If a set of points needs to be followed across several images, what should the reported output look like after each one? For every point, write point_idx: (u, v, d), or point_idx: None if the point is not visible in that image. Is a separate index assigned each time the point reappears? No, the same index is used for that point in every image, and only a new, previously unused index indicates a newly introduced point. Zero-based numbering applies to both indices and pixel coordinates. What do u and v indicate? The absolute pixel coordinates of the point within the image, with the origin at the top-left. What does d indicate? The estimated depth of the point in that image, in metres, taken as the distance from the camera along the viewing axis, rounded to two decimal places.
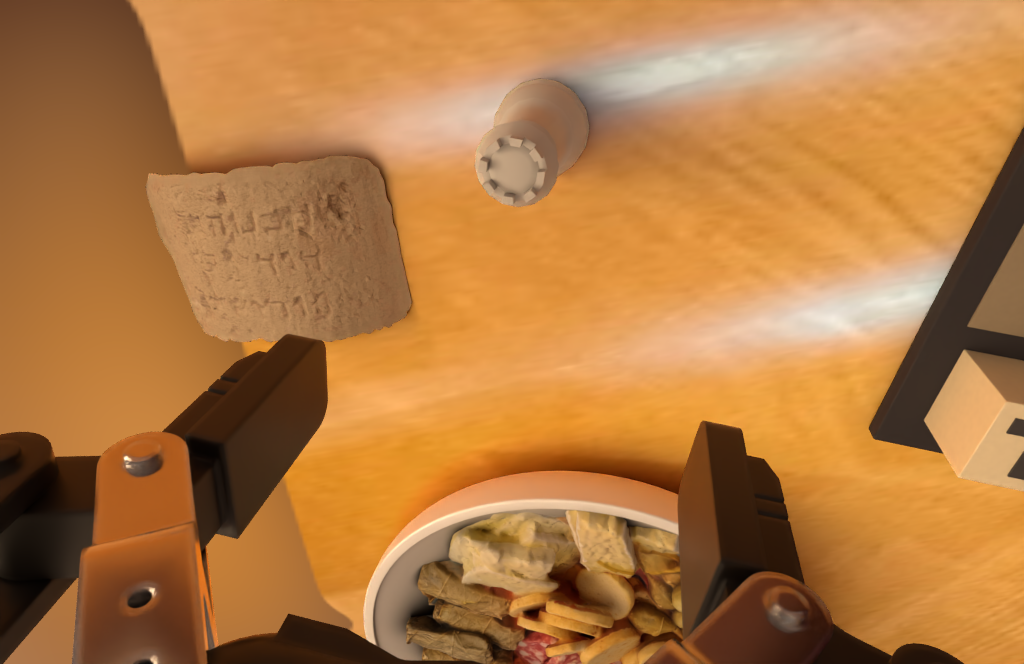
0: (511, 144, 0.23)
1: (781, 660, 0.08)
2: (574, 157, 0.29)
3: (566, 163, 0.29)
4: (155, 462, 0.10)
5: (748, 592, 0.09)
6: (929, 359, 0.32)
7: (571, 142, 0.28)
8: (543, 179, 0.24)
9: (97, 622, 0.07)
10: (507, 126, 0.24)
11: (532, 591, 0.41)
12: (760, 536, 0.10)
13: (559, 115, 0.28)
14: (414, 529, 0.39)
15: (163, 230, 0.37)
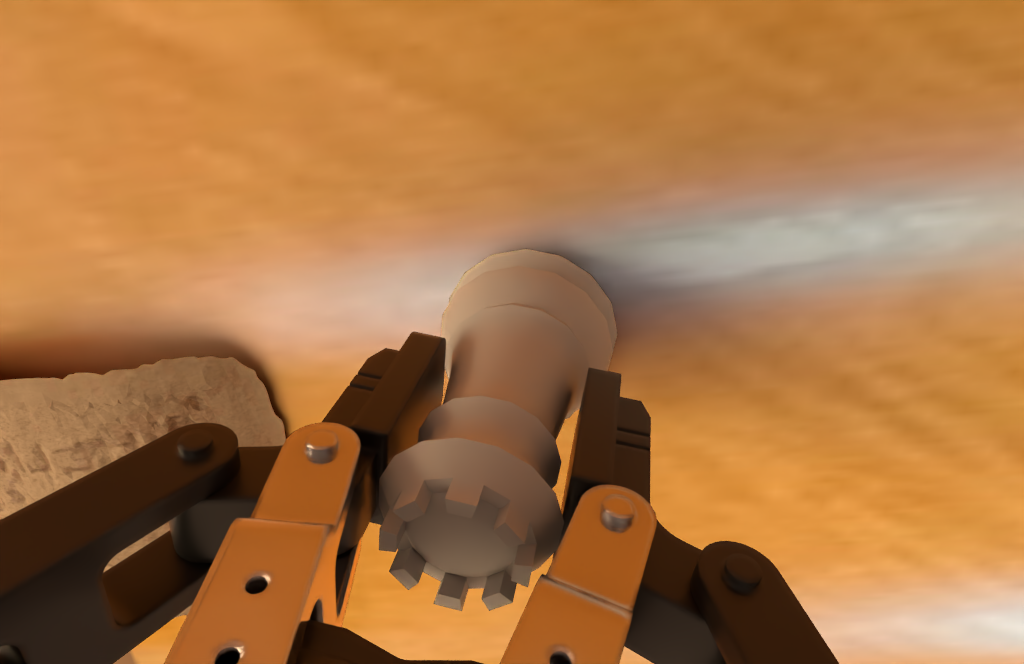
0: (450, 511, 0.10)
1: (627, 557, 0.09)
2: None
3: None
4: (329, 453, 0.10)
5: (586, 499, 0.10)
6: None
7: None
8: (528, 575, 0.10)
9: (216, 595, 0.07)
10: (444, 450, 0.10)
11: None
12: (613, 458, 0.11)
13: (562, 339, 0.14)
14: None
15: None
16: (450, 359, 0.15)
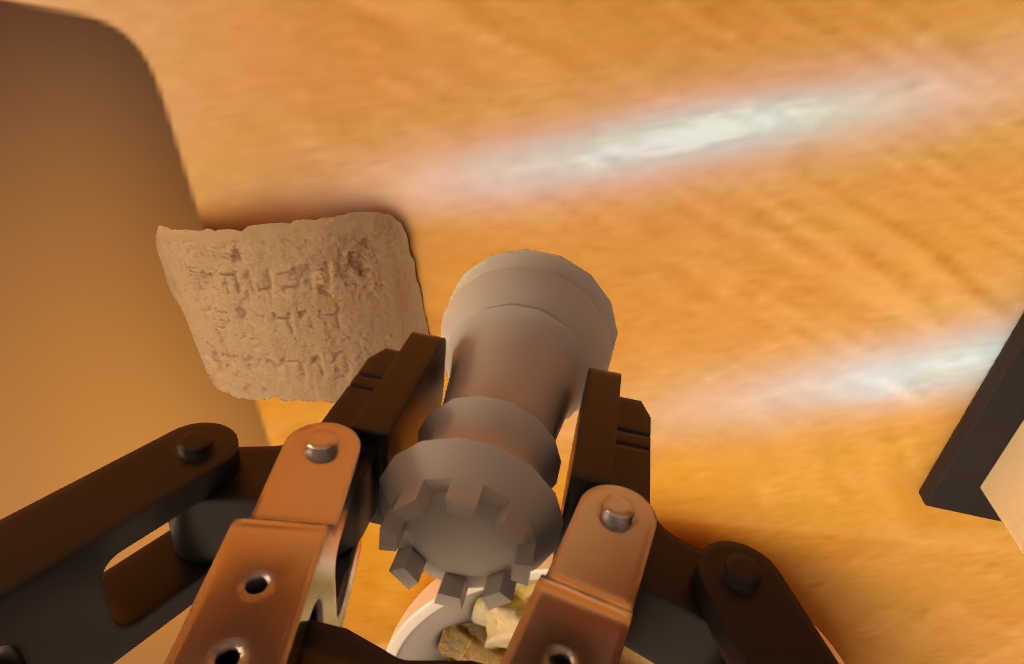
0: (450, 510, 0.10)
1: (627, 557, 0.09)
2: None
3: None
4: (329, 453, 0.10)
5: (585, 500, 0.10)
6: (988, 425, 0.30)
7: (585, 381, 0.15)
8: (528, 575, 0.10)
9: (216, 595, 0.07)
10: (444, 450, 0.10)
11: None
12: (612, 459, 0.11)
13: (563, 339, 0.14)
14: (436, 594, 0.37)
15: (173, 283, 0.36)
16: (451, 359, 0.15)
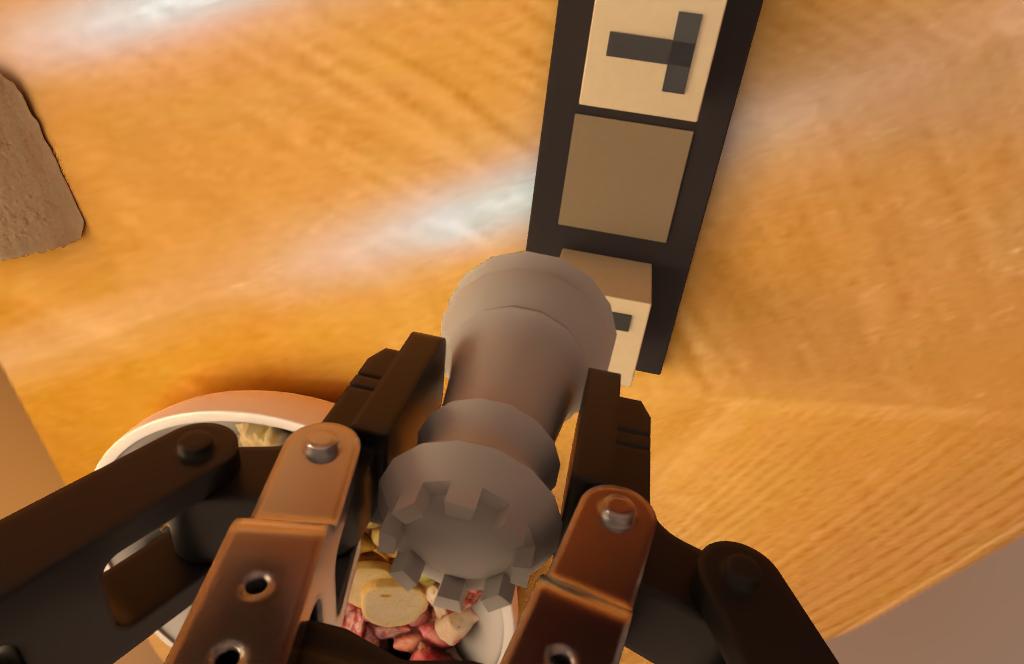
0: (449, 513, 0.10)
1: (627, 557, 0.09)
2: None
3: None
4: (329, 454, 0.10)
5: (586, 500, 0.10)
6: None
7: None
8: (527, 578, 0.10)
9: (216, 595, 0.07)
10: (443, 452, 0.10)
11: None
12: (612, 459, 0.11)
13: (562, 341, 0.14)
14: (108, 449, 0.40)
15: None
16: (450, 361, 0.15)
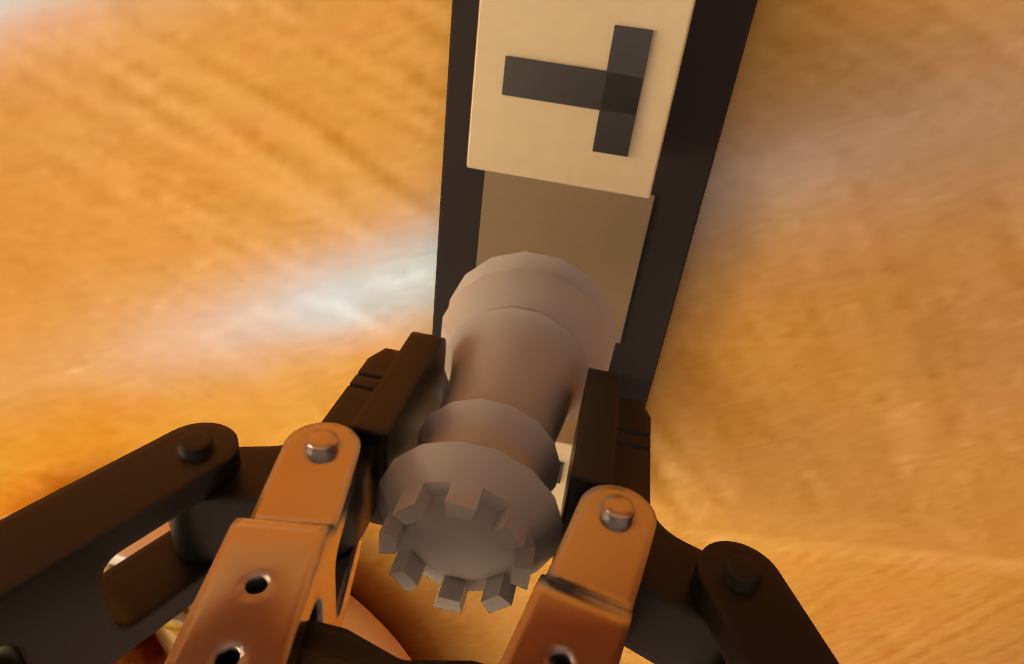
0: (450, 514, 0.10)
1: (627, 557, 0.09)
2: None
3: None
4: (329, 453, 0.10)
5: (586, 500, 0.10)
6: None
7: None
8: (527, 578, 0.10)
9: (216, 595, 0.07)
10: (443, 453, 0.10)
11: None
12: (613, 459, 0.11)
13: (562, 342, 0.14)
14: None
15: None
16: (450, 361, 0.15)
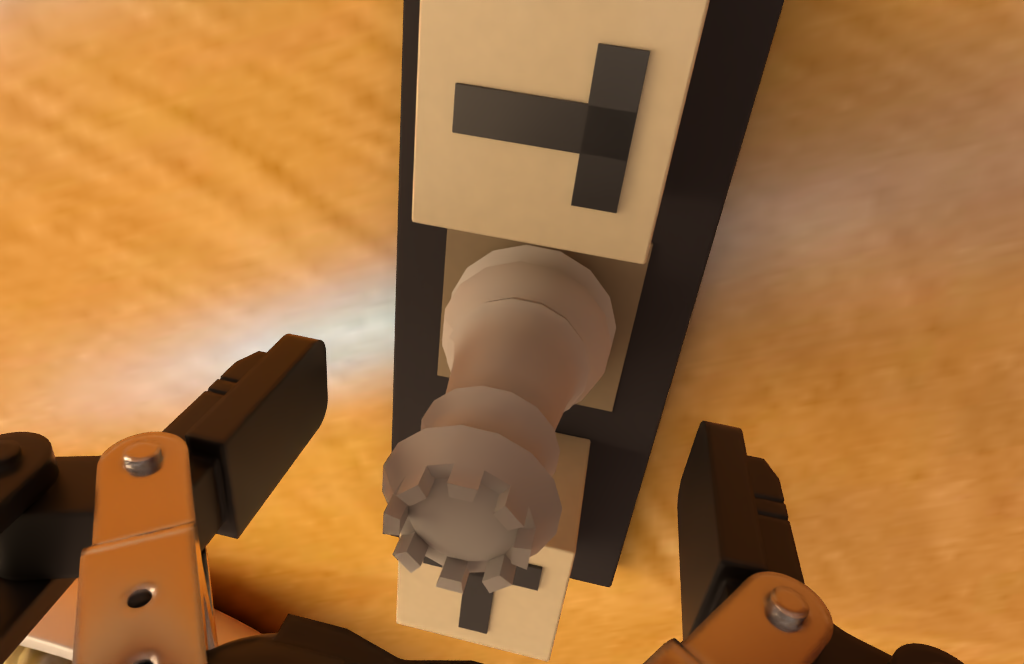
0: (452, 495, 0.10)
1: (781, 660, 0.08)
2: (589, 388, 0.16)
3: None
4: (155, 462, 0.10)
5: (748, 592, 0.09)
6: (410, 423, 0.20)
7: (585, 373, 0.15)
8: (527, 558, 0.10)
9: (97, 622, 0.07)
10: (446, 437, 0.11)
11: None
12: (760, 536, 0.10)
13: (562, 332, 0.14)
14: None
15: None
16: (452, 352, 0.15)
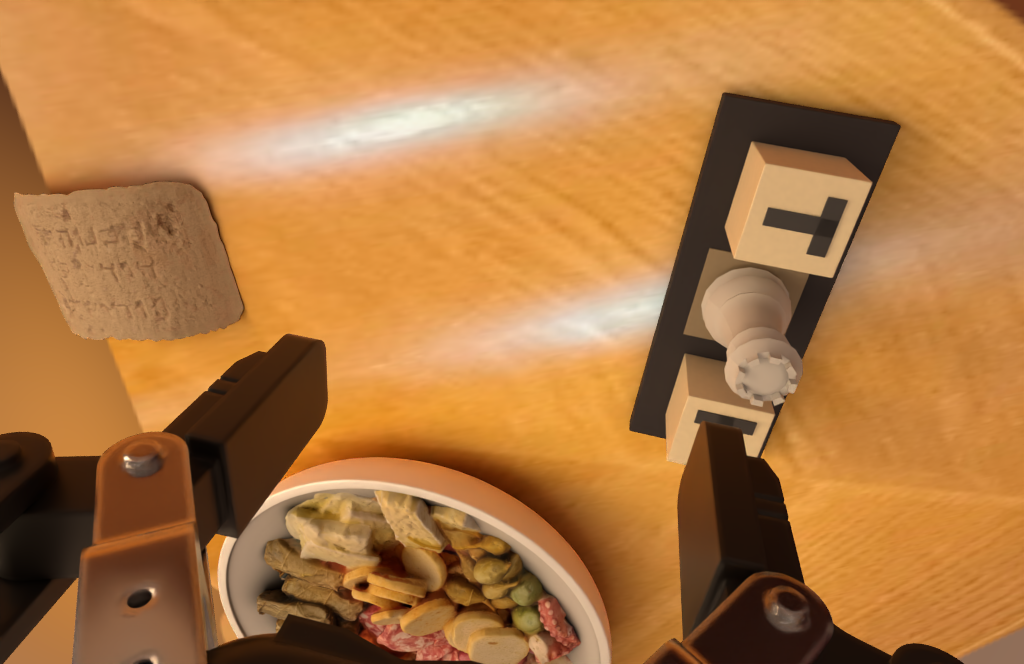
0: (771, 362, 0.27)
1: (781, 660, 0.08)
2: None
3: None
4: (156, 462, 0.10)
5: (748, 592, 0.09)
6: (659, 361, 0.37)
7: (783, 328, 0.32)
8: (794, 389, 0.28)
9: (97, 622, 0.07)
10: (763, 342, 0.28)
11: (360, 564, 0.46)
12: (760, 536, 0.10)
13: (777, 308, 0.31)
14: None
15: (31, 241, 0.43)
16: (719, 317, 0.32)
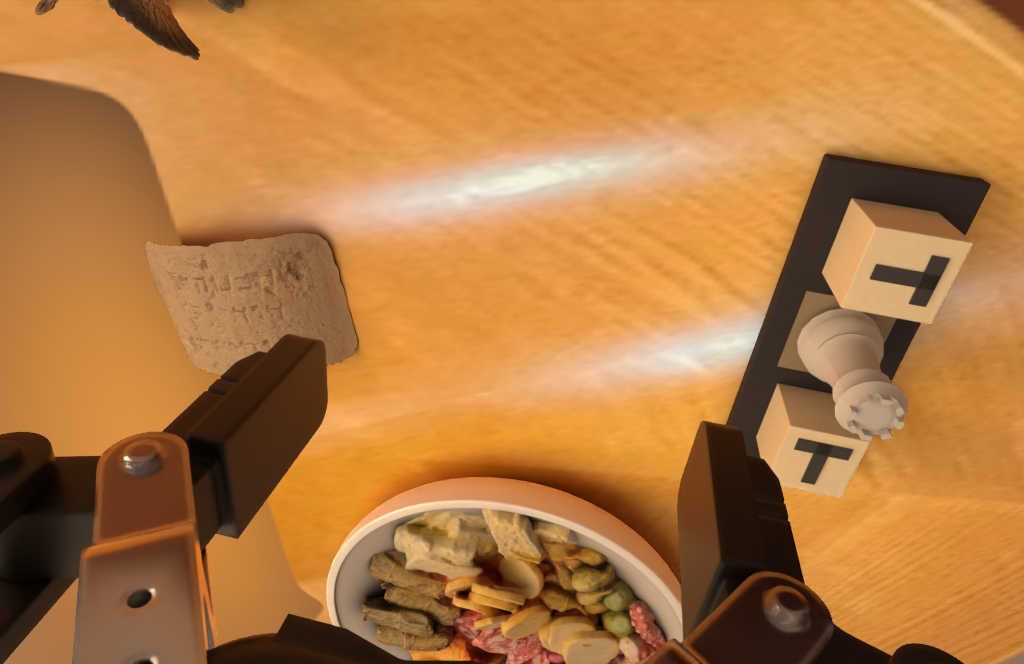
0: (882, 403, 0.30)
1: (781, 660, 0.08)
2: None
3: None
4: (155, 462, 0.10)
5: (748, 592, 0.09)
6: (753, 390, 0.41)
7: None
8: (901, 426, 0.31)
9: (97, 622, 0.07)
10: (873, 385, 0.31)
11: (462, 575, 0.50)
12: (760, 536, 0.10)
13: (874, 347, 0.35)
14: (363, 524, 0.48)
15: (159, 284, 0.47)
16: (819, 355, 0.36)
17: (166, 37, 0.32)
